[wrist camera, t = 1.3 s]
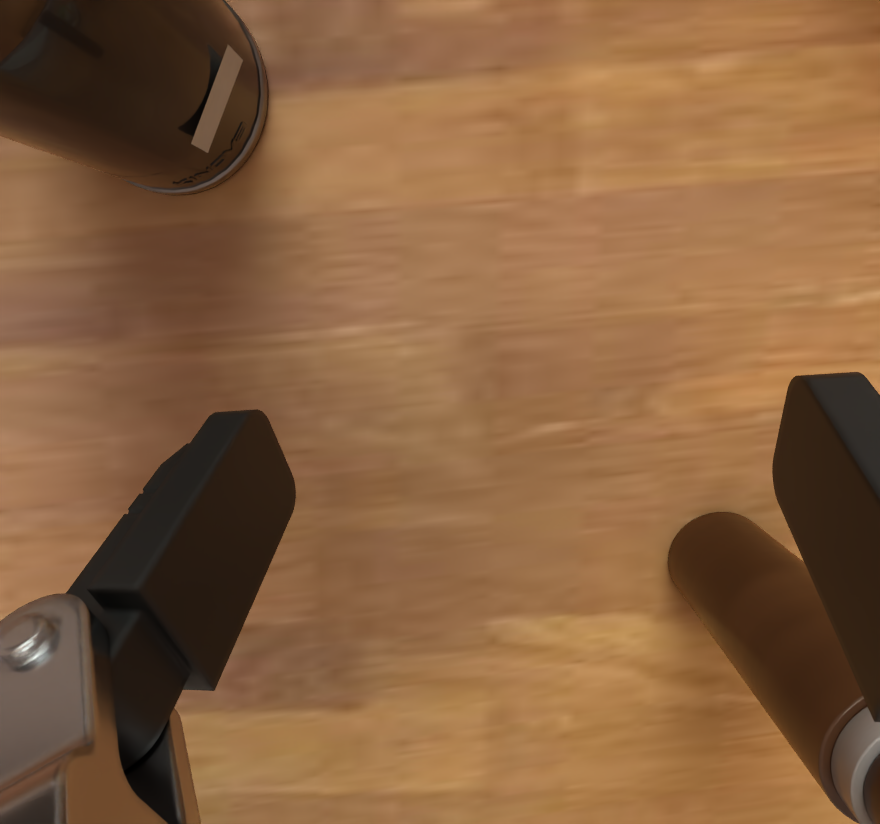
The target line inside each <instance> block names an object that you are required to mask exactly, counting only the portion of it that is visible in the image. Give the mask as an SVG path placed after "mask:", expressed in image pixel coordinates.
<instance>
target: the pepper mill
mask: <svg viewBox="0 0 880 824" xmlns="http://www.w3.org/2000/svg"><path fill="white" fill-rule="evenodd" d="M668 565H669V571H670V575H671V577H672V580H673V582H674V583H675V585H676V586H677V588H678V589H679V590H680V592H681V593H682V595H683V596H684V597H685V599H686V600H687V602H688V603H689V604H690V606H691V607H692V609H693V610H694V611H695V613H696V614H697V616H698V617H699V618H700V620H701V621H702V622H703V624H704V625H705V627H706V628H707V629H708V631H709V632H710V634H711V635H712V636H713V638H714V639H715V641H716V642H717V643H718V645H719V646H720V648H721V649H722V650H723V652H724V653H725V655H726V656H727V657H728V659H729V660H730V661H731V663H732V664H733V666H734V667H735V668H736V670H737V671H738V673H739V674H740V675H741V677H742V678H743V680H744V681H745V682H746V684H747V685H748V687H749V688H750V689H751V691H752V692H753V694H754V695H755V696H756V698H757V699H758V700H759V702H760V703H761V705H762V706H763V707H764V709H765V710H766V712H767V713H768V714H769V716H770V717H771V719H772V720H773V721H774V723H775V724H776V726H777V727H778V728H779V730H780V731H781V733H782V734H783V735H784V737H785V738H786V740H787V741H788V742H789V744H790V745H791V746H792V748H793V749H794V751H795V752H796V753H797V755H798V756H799V758H800V759H801V760H802V762H803V763H804V765H805V766H806V767H807V769H808V770H809V772H810V773H811V774H812V776H813V777H814V779H815V780H816V781H817V783H818V784H819V785H820V787H821V788H822V790H823V791H824V792H825V794H826V795H827V797H828V798H829V799H830V801H831V802H832V803H833V804H834V805H835V807H836V808H837V809H839V810H840V811H841V812H842V813H843V814H844V815H846V816H847V817H849V818H850V819H852V820H853V821H855V822H857V823H859V824H880V722H874V720H873V718H872V716H871V713H870V711H869V709H868V706H867V704H866V702H865V700H864V697H863V695H862V693H861V690H860V688H859V686H858V684H857V681H856V679H855V677H854V674H853V672H852V670H851V668H850V665H849V663H848V661H847V658H846V656H845V654H844V652H843V649H842V647H841V645H840V642H839V640H838V638H837V636H836V633H835V631H834V629H833V626H832V624H831V622H830V620H829V617H828V615H827V613H826V610H825V608H824V606H823V604H822V601H821V599H820V597H819V594H818V592H817V590H816V588H815V585H814V583H813V581H812V578H811V576H810V574H809V572H808V569H807V567H806V565H805V563H804V562H803V561H802V560H800V559H799V558H798V557H797V556H795V555H794V554H793V553H791V552H790V551H789V550H788V549H786V548H785V547H784V546H783V545H781V544H780V543H779V542H777V541H776V540H775V539H774V538H772V537H771V536H770V535H769V534H767V533H766V532H765V531H764V530H762V529H761V528H760V527H758V526H757V525H756V524H755V523H753V522H752V521H750V520H749V519H747V518H745V517H743V516H740V515H738V514H734V513H727V512H716V513H710V514H706V515H703V516H701V517H698V518H696V519H694V520H693V521H691V522H690V523H688V524H687V525H686V526H685V527H683V528H682V529H681V531H680V532H679V533H678V534H677V536H676V537H675V539H674V541H673V543H672V545H671V548H670V551H669V557H668Z"/></svg>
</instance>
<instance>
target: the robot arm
mask: <svg viewBox="0 0 880 824" xmlns="http://www.w3.org/2000/svg"><path fill="white" fill-rule="evenodd" d="M267 102H268V89H267V78H266V72H265V68H264V63H263V60H262V57H261V54H260V51H259V49H258V47H257V44H256V42H255V40H254V38H253V36H252V35H251V33H250V31H249V30H248V28H247V27H246V25H245V24H244V22H243V21H242V20H241V19H240V17H239V16H238V15H237V14H236V13H235V11H234V10H233V9H232V8H231V7H230V6H229V5H228V4H227V3H226V2H225V1H224V0H0V136H1V137H4V138H7V139H10V140H13V141H15V142H18V143H21V144H24V145H27V146H30V147H33V148H36V149H38V150H41V151H44V152H47V153H50V154H53V155H56V156H59V157H61V158H64V159H67V160H70V161H73V162H76V163H79V164H82V165H84V166H87V167H90V168H93V169H96V170H98V171H101V172H104V173H107V174H110V175H113V176H116V177H118V178H121V179H123V180H125V181H127V182H129V183H131V184H133V185H135V186H138V187H140V188H143V189H146V190H150V191H153V192H156V193H162V194H169V195H186V194H193V193H198V192H202V191H205V190H207V189H210V188H212V187H214V186H216V185H218V184H220V183H222V182H223V181H225V180H227V179H228V178H229V177H230V176H232V175H233V174H234V173H235V172H236V171H237V170H238V169H239V168H240V167H241V166H242V165H243V164H244V163H245V161H246V160H247V159H248V157H249V156H250V154H251V153H252V151H253V150H254V148H255V146H256V144H257V142H258V140H259V137H260V135H261V132H262V129H263V126H264V122H265V117H266V112H267ZM773 483H774V489H775V494H776V497H777V500H778V503H779V505H780V508H781V510H782V512H783V514H784V517H785V519H786V521H787V524H788V526H789V528H790V530H791V533H792V535H793V537H794V540H795V542H796V544H797V546H798V549H799V551H800V553H801V556H802V558H803V560H804V562H805V565H806V567H807V569H808V572H809V574H810V576H811V578H812V581H813V583H814V585H815V588H816V590H817V592H818V594H819V597H820V599H821V601H822V604H823V606H824V608H825V610H826V613H827V615H828V617H829V620H830V622H831V624H832V626H833V629H834V631H835V633H836V636H837V638H838V640H839V642H840V645H841V647H842V649H843V652H844V654H845V656H846V658H847V661H848V663H849V665H850V668H851V670H852V672H853V674H854V677H855V679H856V681H857V684H858V686H859V688H860V690H861V693H862V695H863V697H864V700H865V702H866V704H867V706H868V709H869V711H870V713H871V716H872V718H873V720H874V722H880V395H879V394H878V392H877V391H876V390H875V389H874V387H873V386H872V385H871V383H870V382H869V381H868V379H867V378H866V377H865V376H864V375H863V374H861V373H859V372H849V373H833V374H818V375H802V376H795V377H794V378H793V379H792V380H791V382H790V384H789V387H788V390H787V395H786V400H785V405H784V409H783V414H782V419H781V424H780V429H779V434H778V438H777V443H776V448H775V453H774V458H773ZM143 490H144V492H143V494H139V495H138V496H137V498H136V499H135V500H134V502H133V503H132V505H131V506H130V507H129V509H128V510H129V513H128V514H124V515H123V517H122V518H121V519H120V521H119V522H118V523H117V525H116V526H115V528H114V529H113V530H112V532H111V533H110V534H109V536H108V537H107V538H106V540H105V541H104V542H103V544H102V545H101V547H100V548H99V549H98V551H97V552H96V553H95V555H94V556H93V557H92V559H91V560H90V561H89V563H88V564H87V565H86V567H85V568H84V570H83V571H82V572H81V574H80V575H79V576H78V578H77V579H76V580H75V582H74V583H73V584H72V586H71V587H70V589H69V590H68V591H67V592H66V594H54V595H49V596H45V597H42V598H39V599H37V600H34V601H32V602H29V603H28V604H26V605H24V606H22V607H20V608H18V609H17V610H15V611H14V612H12V613H11V614H9V615H8V616H6V617H5V618H4V619H3V620H1V621H0V824H201V820H200V815H199V810H198V805H197V800H196V795H195V789H194V784H193V779H192V774H191V769H190V764H189V758H188V753H187V748H186V743H185V738H184V733H183V727H182V722H181V719H180V716H179V714H178V712H177V711H176V709H175V708H174V707H175V704H176V702H177V700H178V698H179V696H180V694H181V692H182V690H183V689H184V690H208V691H214V690H215V688H216V686H217V684H218V681H219V679H220V677H221V675H222V672H223V670H224V668H225V665H226V663H227V661H228V659H229V656H230V654H231V652H232V649H233V647H234V645H235V643H236V640H237V638H238V636H239V634H240V631H241V629H242V627H243V624H244V622H245V620H246V618H247V615H248V613H249V611H250V609H251V606H252V604H253V602H254V599H255V597H256V595H257V593H258V590H259V588H260V586H261V583H262V581H263V579H264V577H265V574H266V572H267V570H268V568H269V565H270V563H271V561H272V558H273V556H274V554H275V552H276V549H277V547H278V545H279V542H280V540H281V538H282V536H283V533H284V531H285V529H286V527H287V524H288V522H289V520H290V517H291V515H292V513H293V510H294V506H295V498H296V490H295V482H294V478H293V475H292V473H291V471H290V468H289V466H288V464H287V461H286V459H285V457H284V454H283V452H282V450H281V447H280V445H279V443H278V440H277V438H276V436H275V433H274V431H273V429H272V426H271V424H270V422H269V420H268V418H267V416H266V415H265V414H264V413H263V412H262V411H260V410H242V411H227V412H215V413H213V414H212V415H210V416H209V417H208V419H207V420H206V421H205V423H204V424H203V426H202V427H201V428H200V430H199V431H198V433H197V434H196V436H195V437H194V438H193V440H192V441H191V443H187V444H186V445H185V446H183V447H182V448H181V449H180V450H178V451H177V452H176V453H175V454H174V455H172V456H171V457H170V458H169V459H167V460H166V461H165V462H164V463H162V464H161V465H160V467H159V468H158V469H157V471H156V472H155V473H154V475H153V476H152V477H151V479H150V480H149V481H148V483H147V484H146V486H145V487H144V488H143Z"/></svg>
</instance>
